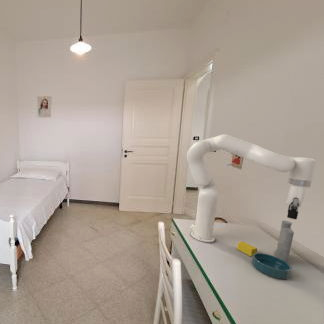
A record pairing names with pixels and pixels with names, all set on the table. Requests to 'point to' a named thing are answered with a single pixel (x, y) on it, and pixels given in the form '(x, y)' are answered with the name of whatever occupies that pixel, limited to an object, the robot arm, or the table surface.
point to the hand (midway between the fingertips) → (291, 215)
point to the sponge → (247, 248)
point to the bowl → (271, 265)
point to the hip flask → (284, 241)
